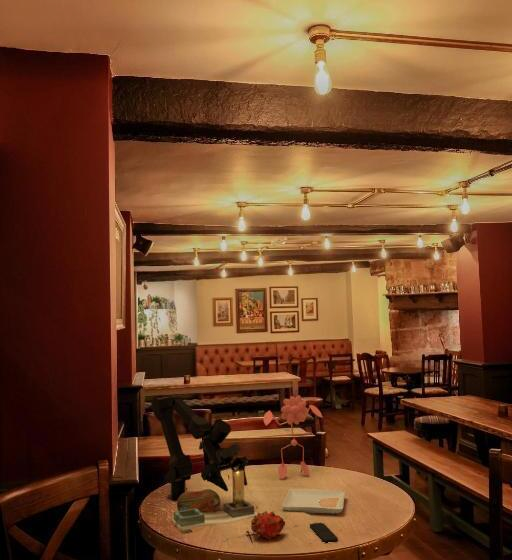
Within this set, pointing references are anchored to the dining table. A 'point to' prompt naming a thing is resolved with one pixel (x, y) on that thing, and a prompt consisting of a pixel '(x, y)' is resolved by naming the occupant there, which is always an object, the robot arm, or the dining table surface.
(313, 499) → the salad plate
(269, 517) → the dragon fruit
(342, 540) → the dining table surface
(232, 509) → the dock board
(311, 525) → the remote control
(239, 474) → the brass peg
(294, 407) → the pink flower figurine
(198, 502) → the brown flat oval piece
